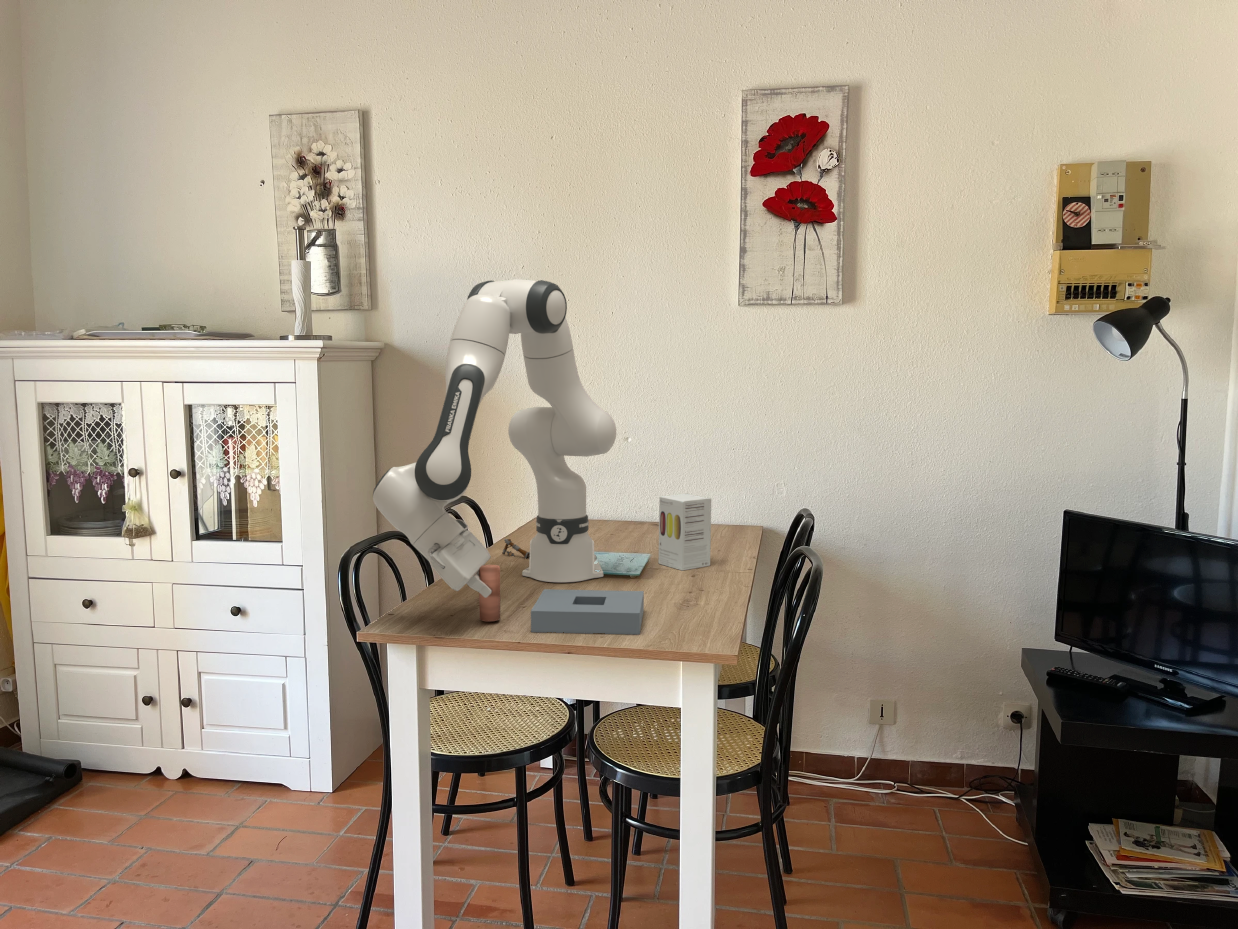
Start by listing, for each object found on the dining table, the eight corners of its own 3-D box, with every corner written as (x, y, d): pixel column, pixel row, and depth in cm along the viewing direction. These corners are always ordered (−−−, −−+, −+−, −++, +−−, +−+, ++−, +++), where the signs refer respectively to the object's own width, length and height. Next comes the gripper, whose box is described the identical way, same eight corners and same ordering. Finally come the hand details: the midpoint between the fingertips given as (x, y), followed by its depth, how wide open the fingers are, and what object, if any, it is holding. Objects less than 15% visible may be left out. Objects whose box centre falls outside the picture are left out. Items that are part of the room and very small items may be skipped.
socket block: (544, 608, 185) (544, 589, 185) (643, 610, 184) (643, 591, 183) (530, 632, 169) (530, 611, 169) (639, 634, 168) (639, 613, 168)
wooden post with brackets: (502, 551, 237) (507, 535, 236) (526, 566, 234) (531, 551, 233) (497, 552, 236) (503, 537, 234) (522, 567, 233) (527, 552, 231)
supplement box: (657, 564, 226) (657, 496, 224) (685, 559, 231) (686, 492, 230) (682, 571, 218) (683, 500, 216) (711, 565, 224) (712, 497, 222)
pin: (481, 615, 178) (481, 564, 177) (502, 615, 178) (501, 565, 177) (477, 621, 174) (476, 569, 173) (498, 621, 174) (497, 569, 173)
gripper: (437, 539, 164) (492, 593, 165) (464, 518, 185) (514, 567, 185) (413, 563, 165) (468, 617, 166) (443, 540, 185) (492, 588, 186)
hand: (492, 590), depth 175 cm, fingers closed on pin, 4 cm apart
